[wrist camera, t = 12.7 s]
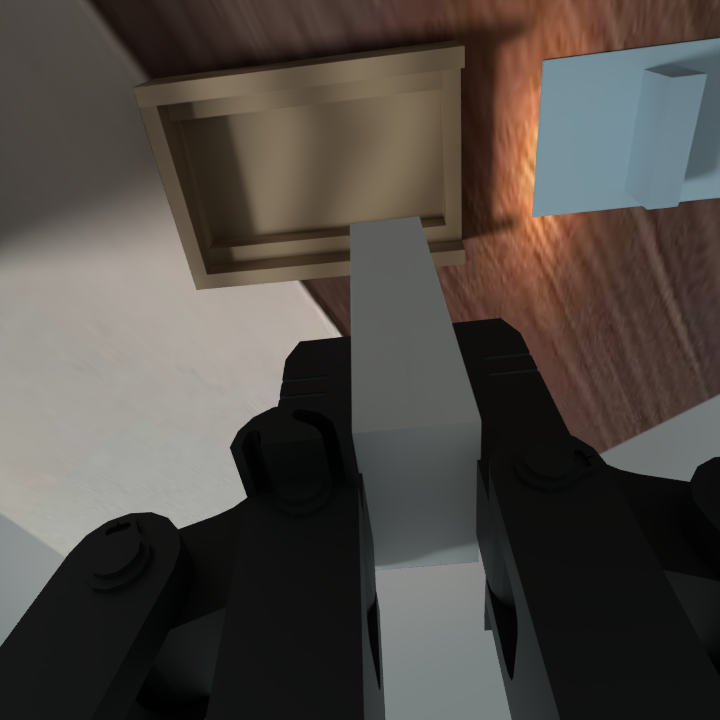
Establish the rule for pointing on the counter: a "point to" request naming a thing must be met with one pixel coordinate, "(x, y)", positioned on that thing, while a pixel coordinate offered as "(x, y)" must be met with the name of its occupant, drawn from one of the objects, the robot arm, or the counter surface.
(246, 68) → the pencil box
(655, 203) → the lid
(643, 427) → the counter surface
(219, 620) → the robot arm
